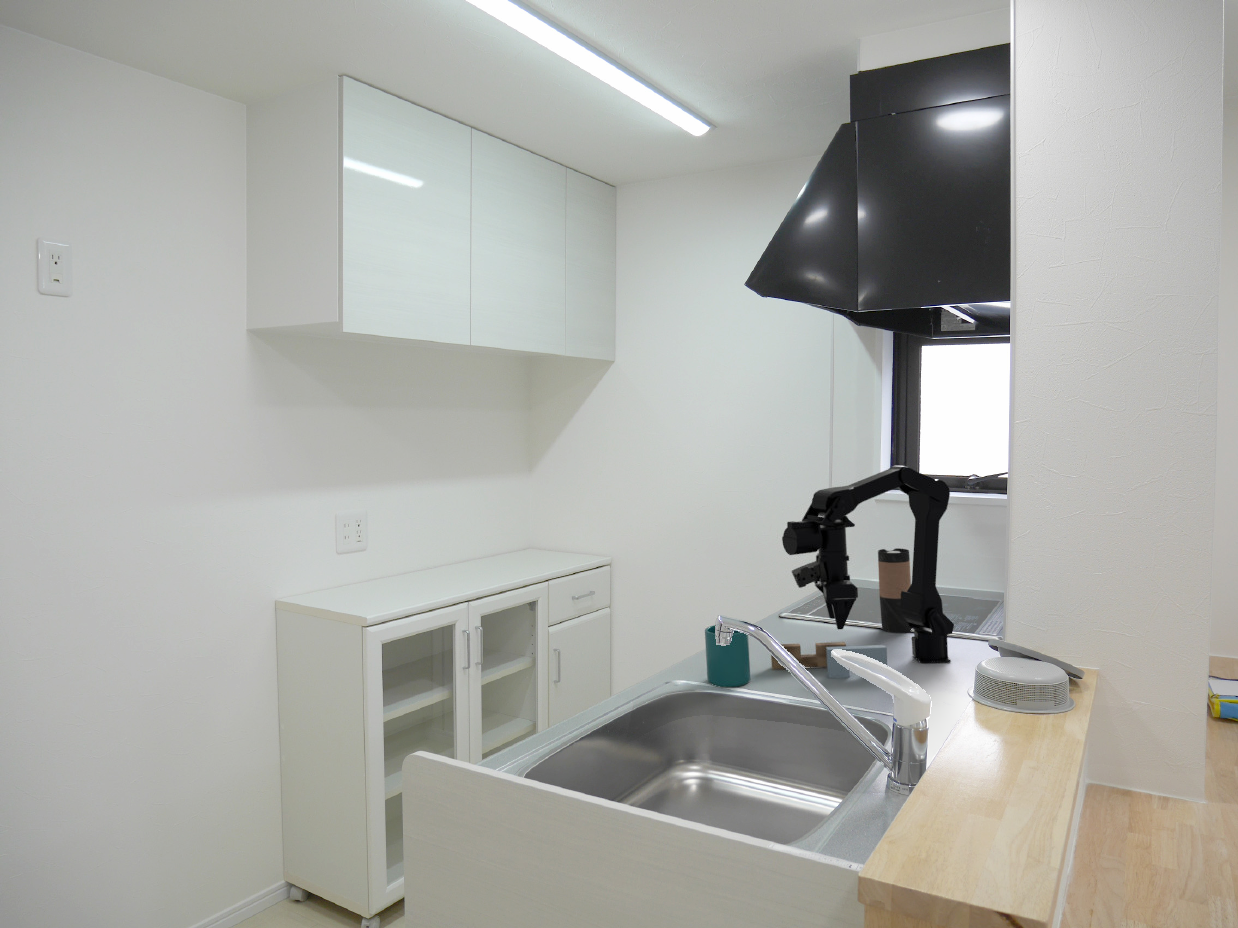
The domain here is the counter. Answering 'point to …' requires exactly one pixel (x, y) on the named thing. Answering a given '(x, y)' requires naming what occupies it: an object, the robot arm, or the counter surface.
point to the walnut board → (810, 659)
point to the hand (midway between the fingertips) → (836, 623)
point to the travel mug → (893, 588)
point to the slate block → (870, 651)
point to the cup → (727, 660)
